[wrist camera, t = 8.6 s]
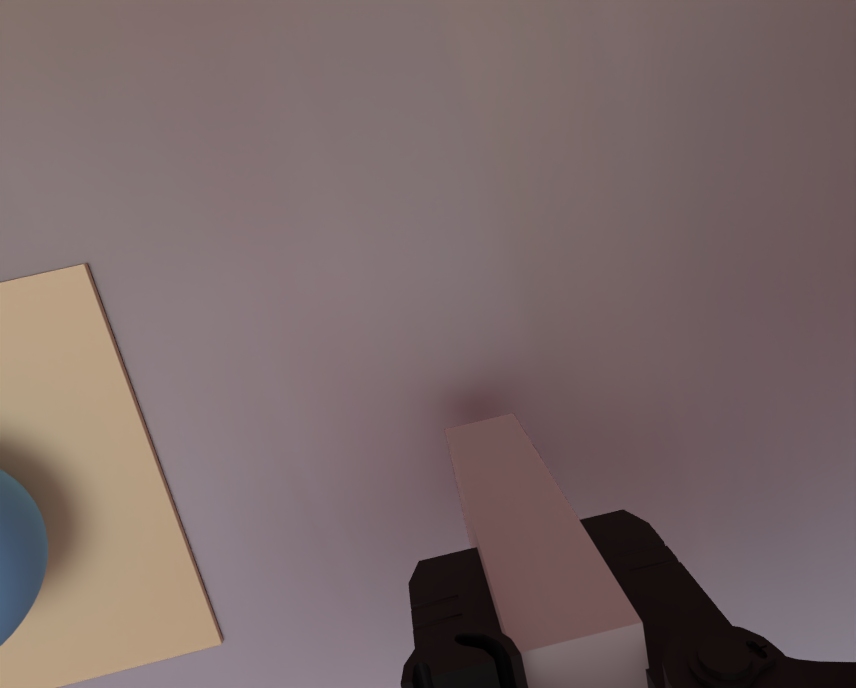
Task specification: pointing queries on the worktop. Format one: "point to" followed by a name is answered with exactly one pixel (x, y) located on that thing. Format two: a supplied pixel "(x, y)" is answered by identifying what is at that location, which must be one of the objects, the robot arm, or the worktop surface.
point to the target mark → (89, 496)
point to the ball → (19, 554)
